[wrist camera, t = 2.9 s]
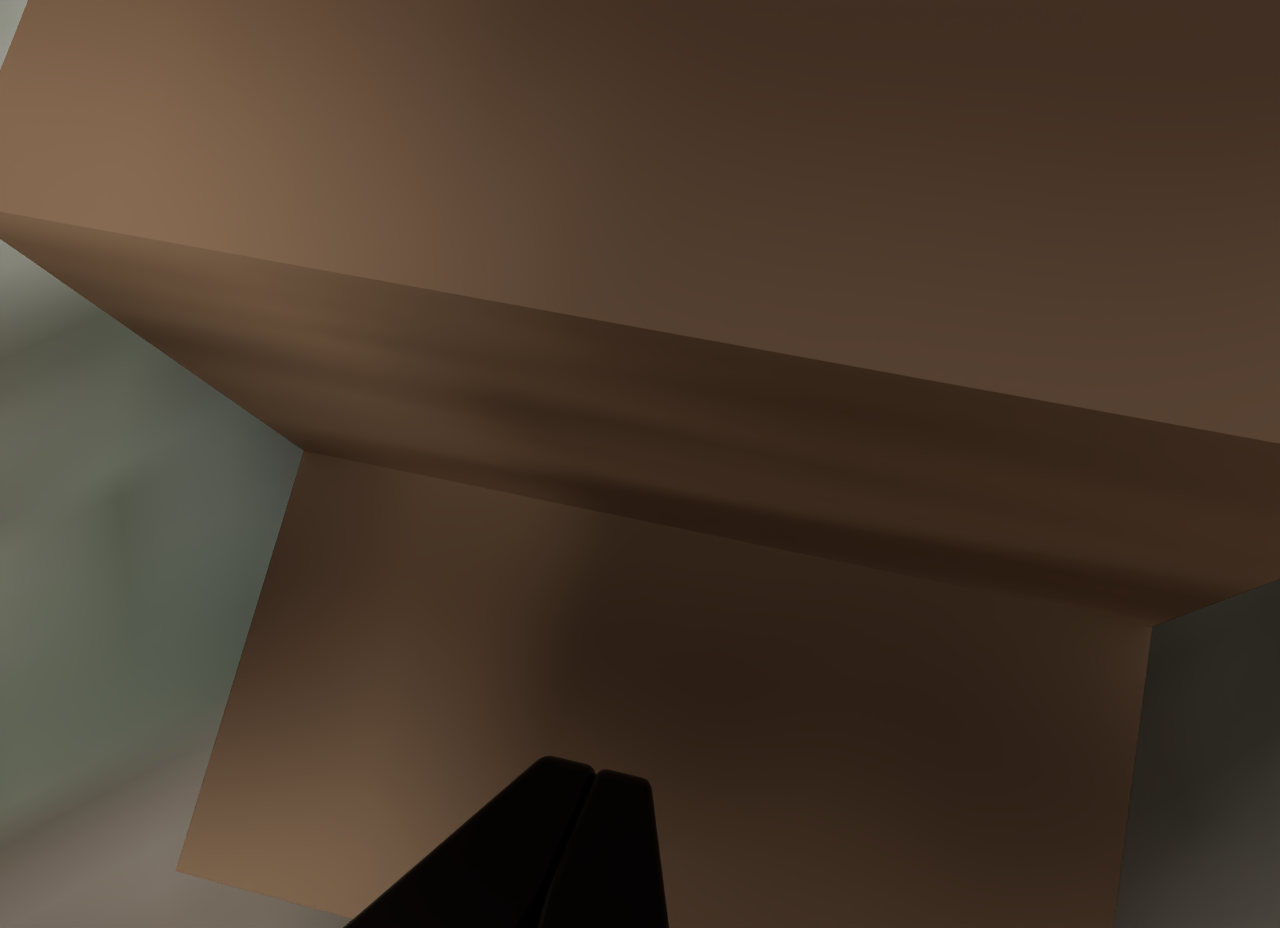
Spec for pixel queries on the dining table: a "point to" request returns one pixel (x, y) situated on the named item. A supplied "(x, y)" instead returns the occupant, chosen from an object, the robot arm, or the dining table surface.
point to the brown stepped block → (697, 410)
